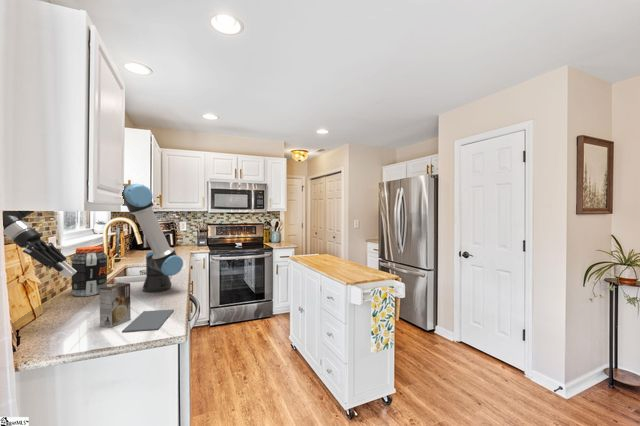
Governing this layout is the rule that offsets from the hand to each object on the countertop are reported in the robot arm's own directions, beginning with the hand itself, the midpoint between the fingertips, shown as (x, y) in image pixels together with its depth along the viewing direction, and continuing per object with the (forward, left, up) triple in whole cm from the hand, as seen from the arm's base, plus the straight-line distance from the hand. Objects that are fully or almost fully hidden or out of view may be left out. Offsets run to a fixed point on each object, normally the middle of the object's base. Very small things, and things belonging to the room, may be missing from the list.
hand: (71, 274), depth 118 cm
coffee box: (0, +16, -21) cm, 27 cm away
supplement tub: (-49, -18, -21) cm, 56 cm away
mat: (0, +30, -21) cm, 36 cm away
